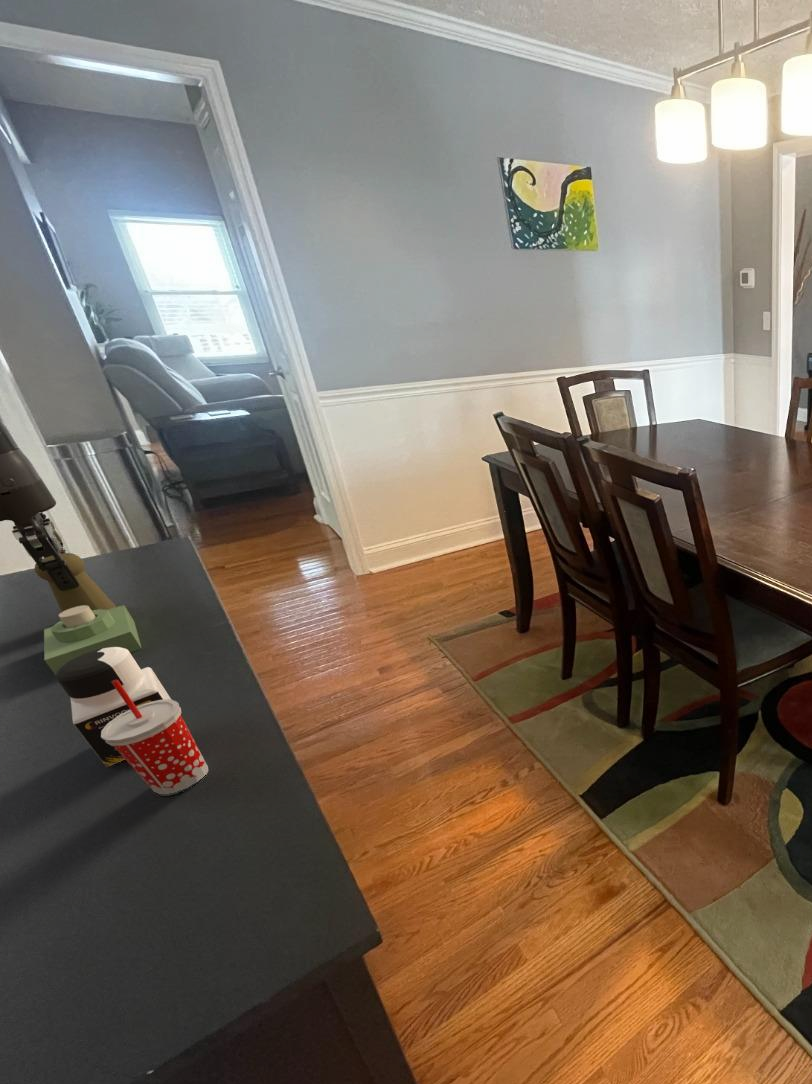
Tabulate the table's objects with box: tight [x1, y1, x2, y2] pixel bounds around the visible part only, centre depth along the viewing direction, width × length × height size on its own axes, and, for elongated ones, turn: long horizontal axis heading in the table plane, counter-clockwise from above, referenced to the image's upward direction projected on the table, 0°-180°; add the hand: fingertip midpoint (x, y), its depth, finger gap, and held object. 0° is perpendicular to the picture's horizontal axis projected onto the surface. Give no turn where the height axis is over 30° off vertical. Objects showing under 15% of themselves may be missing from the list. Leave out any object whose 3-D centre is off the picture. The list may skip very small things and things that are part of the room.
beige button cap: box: [58, 605, 96, 628], centre depth 88 cm, size 3×3×2 cm
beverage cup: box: [101, 679, 209, 794], centre depth 63 cm, size 6×6×14 cm
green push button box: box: [43, 604, 143, 676], centre depth 90 cm, size 12×9×5 cm
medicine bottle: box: [55, 647, 172, 768], centre depth 70 cm, size 7×7×12 cm
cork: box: [34, 552, 117, 613], centre depth 96 cm, size 6×6×11 cm
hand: (69, 582), depth 96 cm, fingers closed on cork, 5 cm apart
